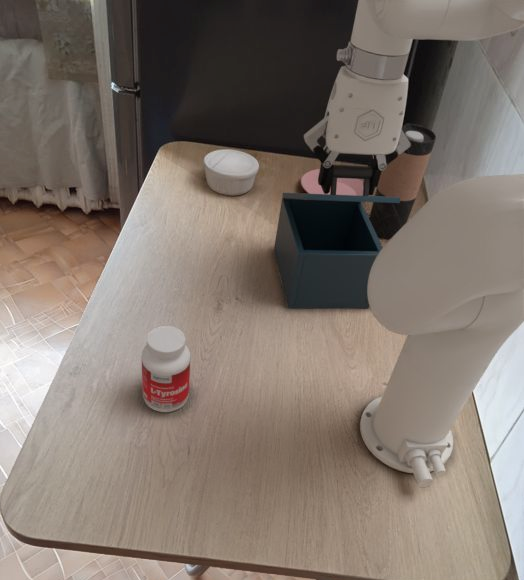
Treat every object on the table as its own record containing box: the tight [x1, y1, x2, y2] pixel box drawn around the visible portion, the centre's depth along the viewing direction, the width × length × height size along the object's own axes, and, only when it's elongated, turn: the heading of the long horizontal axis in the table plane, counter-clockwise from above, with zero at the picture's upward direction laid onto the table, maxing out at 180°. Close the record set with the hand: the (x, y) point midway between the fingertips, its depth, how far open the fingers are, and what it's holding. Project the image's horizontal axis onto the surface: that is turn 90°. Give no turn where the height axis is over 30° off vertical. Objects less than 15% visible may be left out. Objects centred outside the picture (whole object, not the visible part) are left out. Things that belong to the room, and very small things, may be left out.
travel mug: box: [368, 123, 437, 240], centre depth 107 cm, size 8×8×20 cm
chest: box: [273, 197, 384, 309], centre depth 96 cm, size 16×14×11 cm
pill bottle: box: [140, 325, 191, 413], centre depth 73 cm, size 6×6×11 cm
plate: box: [300, 168, 364, 196], centre depth 121 cm, size 14×14×2 cm
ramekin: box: [203, 149, 260, 196], centre depth 117 cm, size 11×11×5 cm
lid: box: [281, 164, 400, 203], centre depth 89 cm, size 17×14×5 cm
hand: (346, 188), depth 85 cm, fingers closed on lid, 6 cm apart
